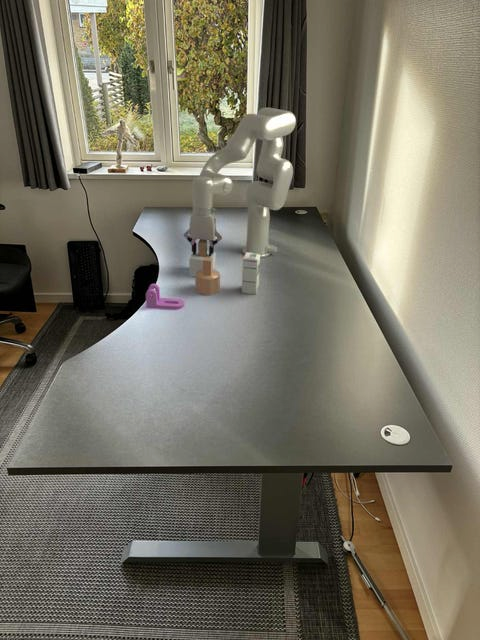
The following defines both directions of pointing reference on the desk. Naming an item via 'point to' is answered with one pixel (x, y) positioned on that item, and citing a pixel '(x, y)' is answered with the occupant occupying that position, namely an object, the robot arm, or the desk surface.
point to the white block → (200, 258)
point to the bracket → (161, 299)
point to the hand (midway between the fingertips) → (202, 253)
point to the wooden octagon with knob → (207, 278)
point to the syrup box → (250, 273)
